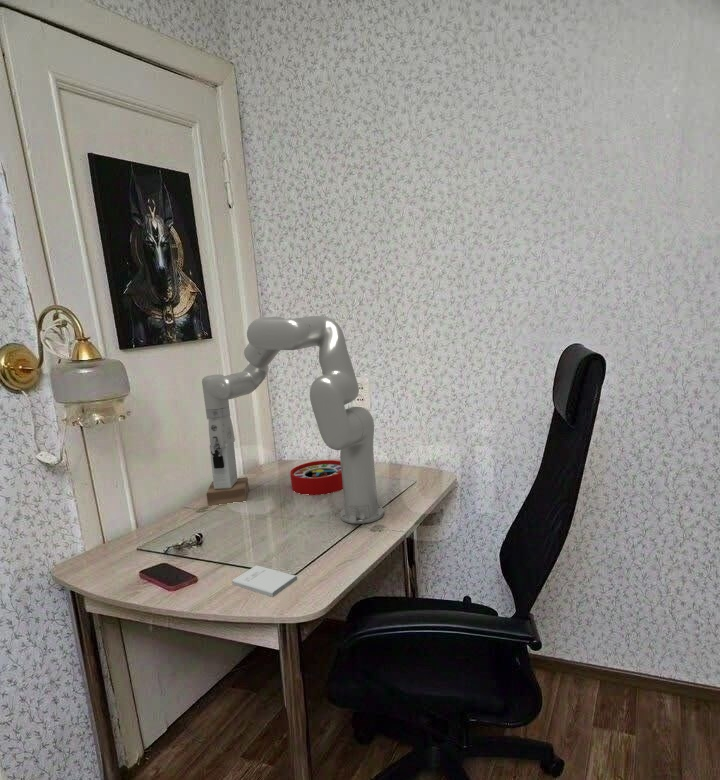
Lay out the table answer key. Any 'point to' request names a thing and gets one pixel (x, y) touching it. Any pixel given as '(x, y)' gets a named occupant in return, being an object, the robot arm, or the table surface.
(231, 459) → the skincare box
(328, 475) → the toy clock
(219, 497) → the walnut block
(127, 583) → the table surface
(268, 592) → the external hard drive
